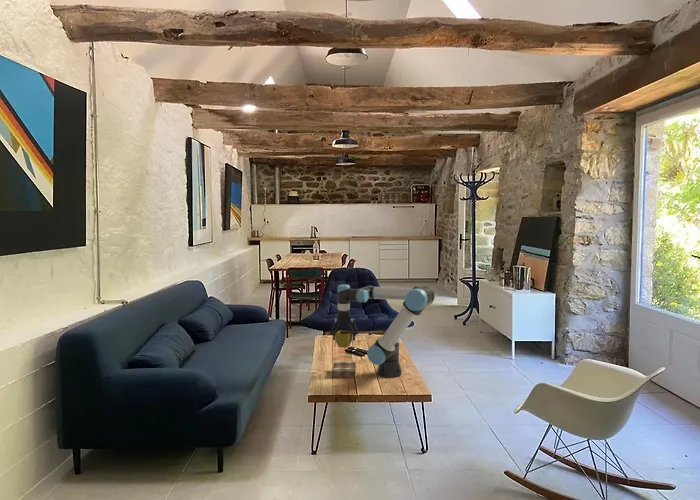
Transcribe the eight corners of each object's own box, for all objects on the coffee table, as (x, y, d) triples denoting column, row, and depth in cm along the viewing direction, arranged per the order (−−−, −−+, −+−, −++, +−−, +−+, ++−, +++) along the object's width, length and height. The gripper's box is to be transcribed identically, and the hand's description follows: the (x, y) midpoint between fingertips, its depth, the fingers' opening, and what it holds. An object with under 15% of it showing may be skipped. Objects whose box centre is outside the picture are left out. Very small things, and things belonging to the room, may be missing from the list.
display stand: (355, 370, 308) (355, 361, 308) (355, 377, 294) (355, 368, 294) (333, 370, 309) (333, 361, 308) (332, 377, 295) (332, 368, 294)
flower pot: (340, 344, 307) (340, 330, 306) (353, 345, 304) (353, 331, 303) (334, 347, 298) (334, 333, 298) (348, 349, 295) (348, 334, 295)
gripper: (362, 308, 302) (362, 344, 304) (326, 308, 304) (326, 343, 305) (361, 311, 295) (362, 347, 297) (325, 311, 296) (325, 347, 298)
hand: (344, 345), depth 301 cm, fingers closed on flower pot, 10 cm apart
